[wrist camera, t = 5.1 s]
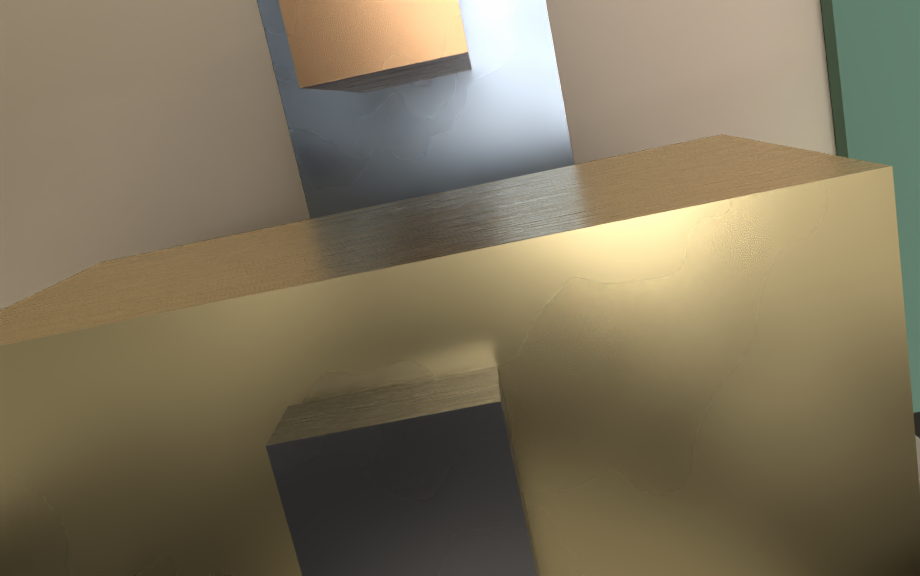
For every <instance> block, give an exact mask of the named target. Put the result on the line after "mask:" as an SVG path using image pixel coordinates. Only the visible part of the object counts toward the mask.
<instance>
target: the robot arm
mask: <svg viewBox="0 0 920 576" xmlns="http://www.w3.org/2000/svg"><path fill="white" fill-rule="evenodd" d="M913 415H914V427H915V438H916V450H917V462H918V474H919V485H920V412H916V413H913Z"/></svg>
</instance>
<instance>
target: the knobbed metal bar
mask: <svg viewBox="0 0 920 576" xmlns="http://www.w3.org/2000/svg"><path fill="white" fill-rule="evenodd" d="M257 3H258V7H259V11H260V15H261V19H262V23H263V27H264V31H265V35H266V39H267V43H268V47H269V51H270V56H271V60H272V64H273V68H274V72H275V76H276V80H277V84H278V88H279V92H280V96H281V100H282V104H283V108H284V112H285V116H286V120H287V124H288V129H289V133H290V137H291V141H292V145H293V149H294V153H295V157H296V161H297V165H298V169H299V173H300V177H301V181H302V185H303V189H304V193H305V197H306V202H307V206H308V210H309V214H310V218H311V219H313V218H318V217H323V216H328V215H333V214H338V213H342V212H347V211H352V210H357V209H362V208H367V207H372V206H376V205H381V204H386V203H391V202H396V201H401V200H406V199H410V198H415V197H420V196H425V195H430V194H435V193H440V192H444V191H449V190H454V189H459V188H464V187H469V186H474V185H479V184H483V183H488V182H493V181H498V180H503V179H508V178H513V177H517V176H522V175H527V174H532V173H537V172H542V171H547V170H551V169H556V168H561V167H566V166H571V165H574V160H573V154H572V148H571V142H570V137H569V131H568V125H567V120H566V114H565V108H564V103H563V97H562V91H561V85H560V80H559V74H558V68H557V63H556V57H555V51H554V46H553V40H552V34H551V28H550V23H549V17H548V11H547V6H546V0H257Z"/></svg>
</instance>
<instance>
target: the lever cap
mask: <svg viewBox="0 0 920 576" xmlns="http://www.w3.org/2000/svg"><path fill="white" fill-rule="evenodd" d="M0 576H920V485H919V474H918V462H917V450H916V438H915V427H914V415H913V403H912V391H911V380H910V368H909V356H908V344H907V333H906V321H905V309H904V297H903V286H902V274H901V262H900V250H899V238H898V227H897V215H896V203H895V191H894V180H893V168H892V166H890V165H884V164H879V163H874V162H868V161H863V160H857V159H852V158H846V157H841V156H836V155H830V154H825V153H819V152H814V151H809V150H803V149H798V148H792V147H787V146H782V145H776V144H771V143H765V142H760V141H754V140H749V139H744V138H738V137H733V136H727V135H722V134H721V135H717V136H712V137H707V138H702V139H697V140H692V141H687V142H683V143H678V144H673V145H668V146H663V147H658V148H653V149H649V150H644V151H639V152H634V153H629V154H624V155H619V156H615V157H610V158H605V159H600V160H595V161H590V162H585V163H581V164H576V165H571V166H566V167H561V168H556V169H551V170H547V171H542V172H537V173H532V174H527V175H522V176H517V177H513V178H508V179H503V180H498V181H493V182H488V183H483V184H479V185H474V186H469V187H464V188H459V189H454V190H449V191H444V192H440V193H435V194H430V195H425V196H420V197H415V198H410V199H406V200H401V201H396V202H391V203H386V204H381V205H376V206H372V207H367V208H362V209H357V210H352V211H347V212H342V213H338V214H333V215H328V216H323V217H318V218H313V219H308V220H304V221H299V222H294V223H289V224H284V225H279V226H274V227H270V228H265V229H260V230H255V231H250V232H245V233H240V234H236V235H231V236H226V237H221V238H216V239H211V240H206V241H202V242H197V243H192V244H187V245H182V246H177V247H172V248H168V249H163V250H158V251H153V252H148V253H143V254H138V255H134V256H129V257H124V258H119V259H114V260H109V261H104V262H101V263H99V264H97V265H95V266H93V267H91V268H89V269H86V270H84V271H82V272H80V273H78V274H76V275H74V276H72V277H70V278H68V279H65V280H63V281H61V282H59V283H57V284H55V285H53V286H51V287H49V288H47V289H44V290H42V291H40V292H38V293H36V294H34V295H32V296H30V297H28V298H26V299H23V300H21V301H19V302H17V303H15V304H13V305H11V306H9V307H7V308H5V309H3V310H0Z"/></svg>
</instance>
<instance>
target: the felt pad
mask: <svg viewBox="0 0 920 576" xmlns="http://www.w3.org/2000/svg"><path fill="white" fill-rule="evenodd" d="M821 8H822V18H823V27H824V36H825V45H826V55H827V64H828V73H829V83H830V92H831V101H832V110H833V120H834V129H835V138H836V147H837V156H841V157H846V158H852V159H857V160H863V161H868V162H874V163H879V164H884V165H890V166H892V168H893V180H894V191H895V203H896V215H897V227H898V238H899V250H900V262H901V274H902V286H903V297H904V309H905V321H906V333H907V344H908V356H909V368H910V380H911V391H912V403H913V413H916V412H920V0H821Z"/></svg>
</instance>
